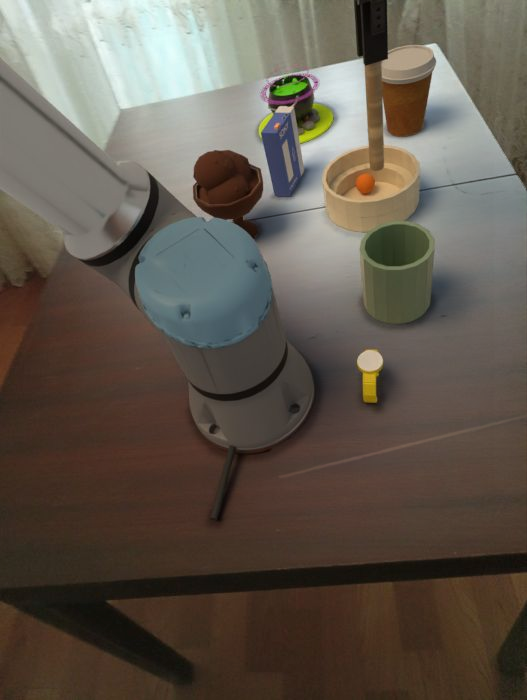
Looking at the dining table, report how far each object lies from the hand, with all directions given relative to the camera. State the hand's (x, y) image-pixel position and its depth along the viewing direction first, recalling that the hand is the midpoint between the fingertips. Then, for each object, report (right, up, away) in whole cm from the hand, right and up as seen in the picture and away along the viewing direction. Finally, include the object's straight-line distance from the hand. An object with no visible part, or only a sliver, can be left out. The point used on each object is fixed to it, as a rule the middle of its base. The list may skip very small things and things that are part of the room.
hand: (372, 56), depth 59 cm
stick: (+3, -9, +11) cm, 15 cm away
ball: (+3, -8, +20) cm, 22 cm away
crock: (+5, -28, +7) cm, 30 cm away
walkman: (-8, -6, +28) cm, 30 cm away
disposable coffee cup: (+13, +6, +31) cm, 34 cm away
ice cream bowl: (-16, -16, +23) cm, 32 cm away
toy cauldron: (-6, +10, +40) cm, 42 cm away
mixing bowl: (+4, -12, +20) cm, 24 cm away
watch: (0, -39, 0) cm, 40 cm away
